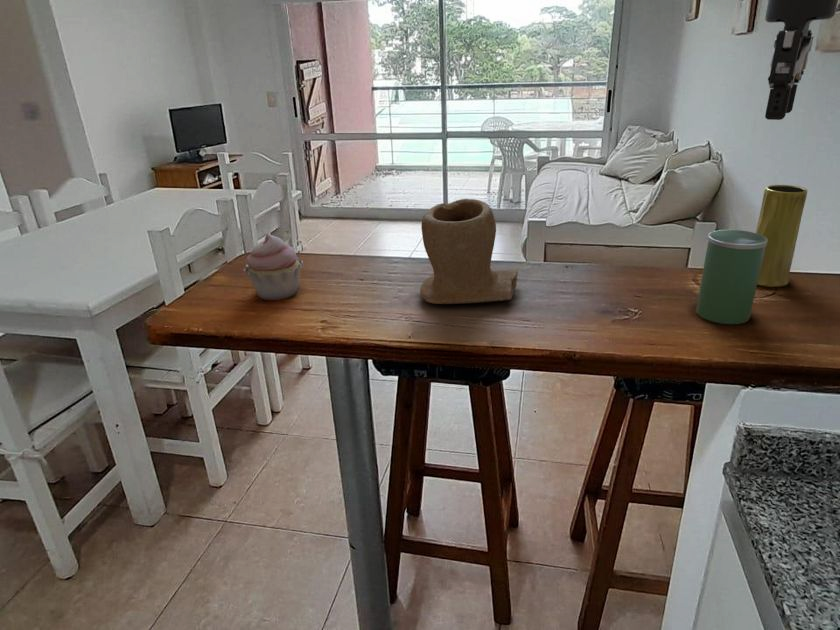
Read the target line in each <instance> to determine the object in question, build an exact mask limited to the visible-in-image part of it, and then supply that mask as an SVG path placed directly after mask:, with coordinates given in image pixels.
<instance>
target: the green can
mask: <svg viewBox="0 0 840 630" xmlns="http://www.w3.org/2000/svg"><path fill="white" fill-rule="evenodd" d="M767 241H768V240H767V238H766V237H765V236H763V235H760V234H757V233H756V232H753V231H749V230H741V229H719V230H714V231H711V232H709V233H708V236H707V246H706V252H705V257H704V262H703V263H704V264H703V267H702V268H703V269H702V275H701V279H700V286H699V290H698V291H699V292H698V297H697V302H696V309H695V312H696V314H697V315H698V316H699V317H700V318H702V319H704V320H707V321H709V322H712V323H717V324H723V325H741V324H744V323H745V324H746V323H747V322H748V321H750V319H751V314H752V310H753V305H754V301H755V297H756V291H757V287H758V285H757V283H758V278H759V274H760V269H761V265H762V260H763V255H764V251H765V246H766V245H767Z"/></svg>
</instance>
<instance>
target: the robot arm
mask: <svg viewBox="0 0 840 630" xmlns="http://www.w3.org/2000/svg"><path fill="white" fill-rule="evenodd" d="M838 2H839V0H767V6H766V10H765V17H764V19H765V21H766V23H783V24H784V25H783V30H778V33H776V38H775V39H774V43H773V49H772V51H773V52H772V53H773V54H772V57H771V61H770V66H769V67H770V68H769V71H770V73H769V76H768V78H767V81H768V86H769V88H768V89H770V90H769V95H768V98H767V103H766V109H765V115H764V118H765V119H766V120H769V121H770V120H775V121H781V120H783V119H784V118H785V117H786V114H790V113H791V112H792V111H793V108H794V104H795V98H796V93H797V89H798V84H799V83H800V81H802V76H803V75H804V72H805V69H806V67H807V64H808V59H809V55H810V52H811V50H812V47H813V43H814V36H812V35H813V32H812V29H810V25H811V23H812V22H814V21H822V20H823V21H824V20H830V19H832V18H833V17H834V16H835V14H836V11H837V6H838Z"/></svg>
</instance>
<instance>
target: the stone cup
mask: <svg viewBox="0 0 840 630" xmlns="http://www.w3.org/2000/svg"><path fill="white" fill-rule="evenodd" d="M421 236H422V244H423V247H424V251H425V252H426V255H427V257H428V260H429V262H430V265H431V267H432V271H433V275H431V276H429V277H427V278H426V279H425V280H424V281H423V282H422V284H420V288H419V293H420V296H421V297H422V298H423V299H424V300H425V302H427V303H430V304H434V305H463V304H477V303H478V304H479V303H491V302H502V301H503V302H505V301H510V300H511V299H513V297H514V296H513V295H514V292H515V290H516V288H517V282H518V274H519V272H518V269H509V270H508V269H507V270H504V269H503V270H502V269H501V270H492V268H491V263H492V257H493V252H494V247H495V242H496V237H497V222H496V219H495V214H494V212H493V209H492V208H491V206H490V205H489V204H488V203H486V202H485V201H482V200H479V199H475V198H460V199H456V200H455V201H452V202H449V203H447V202H446V203H445V202H443V203H437V204H436V205H434V206H432V207H431V208H429V209H428V210H427V211H426V212H425V213H424V214H423V216H422V219H421Z"/></svg>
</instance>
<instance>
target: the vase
mask: <svg viewBox="0 0 840 630" xmlns="http://www.w3.org/2000/svg"><path fill="white" fill-rule="evenodd" d="M807 196H808V189H807V188H806V187H802V186H798V185H790V184H770V185H768V186H765V188H764V191H763V196H762V202H761V207H760V211H759V215H758V221H757V224H756V225H757V226H756V231H755V233H757V234H760V235H763V236H765V237H766V238H767V240H768V241H767V245H766V246H765V251H764V255H763V260H762V265H761V269H760V274H759V278H758V283H757V286H760V287H765V288H782V287H785V286H787V285H788V284H789V283H790V280H789V279H790V272H791V268H792V264H793V259H794V255H795V252H796V251H795V250H796V245H797V241H798V236H799V231H800V226H801V221H802V217H803V212H804V208H805V205H806V200H807Z"/></svg>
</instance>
